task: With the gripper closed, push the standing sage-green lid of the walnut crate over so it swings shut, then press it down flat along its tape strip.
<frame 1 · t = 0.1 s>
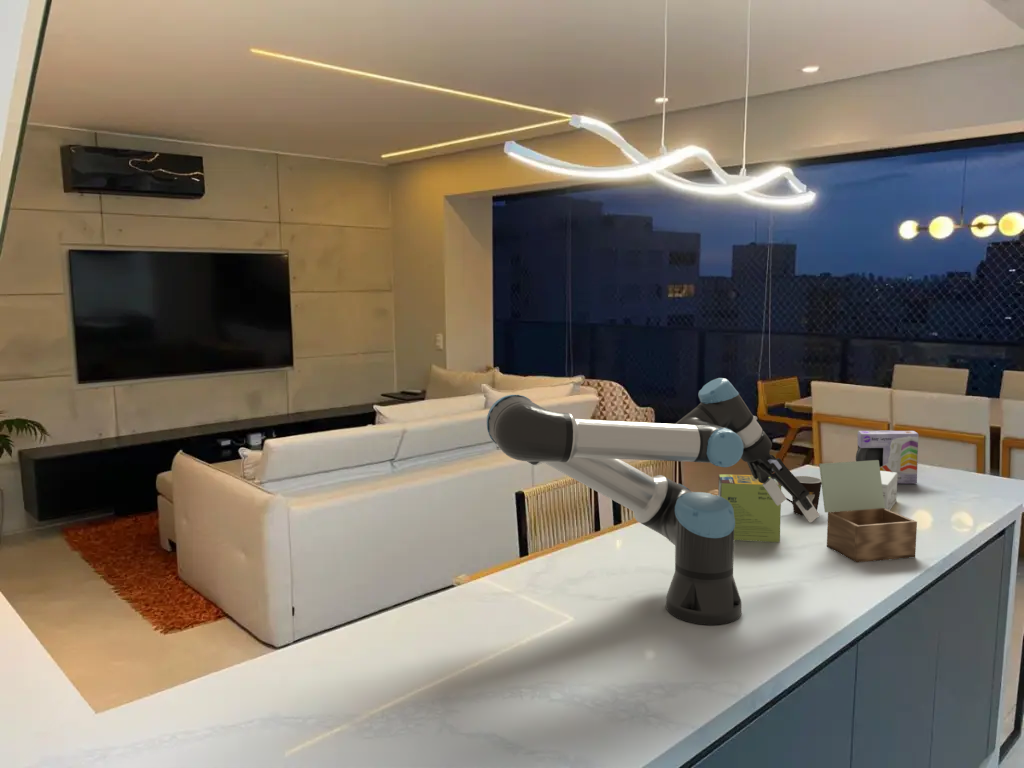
hand: (797, 510, 171), 15 cm above the counter, tool tilted 35°, fingers open, 13 cm apart
protein box: (747, 535, 201), on the counter
crate: (869, 551, 187), on the counter
lid: (851, 485, 193), point 15 cm above the counter, hinge at 105.0°
cake pan box: (884, 483, 253), on the counter
supplement box: (868, 505, 227), on the counter
coffee mug: (799, 512, 221), on the counter
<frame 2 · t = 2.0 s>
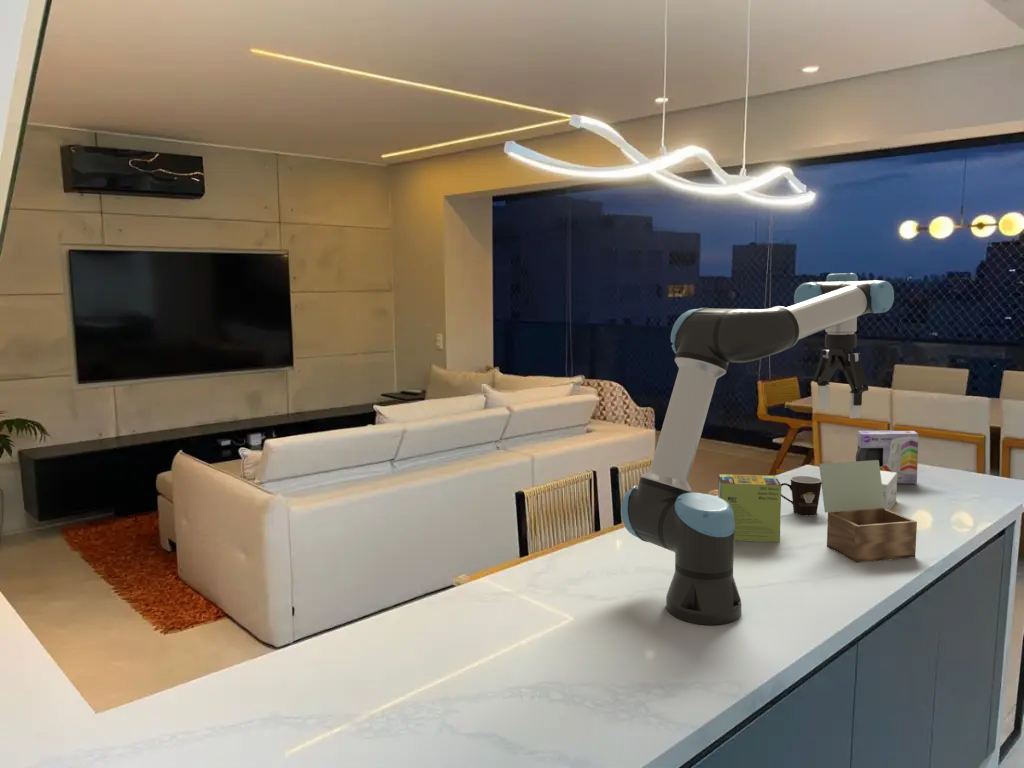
hand: (838, 413, 196), 33 cm above the counter, tool pointing down, fingers open, 13 cm apart
nothing on the counter moved.
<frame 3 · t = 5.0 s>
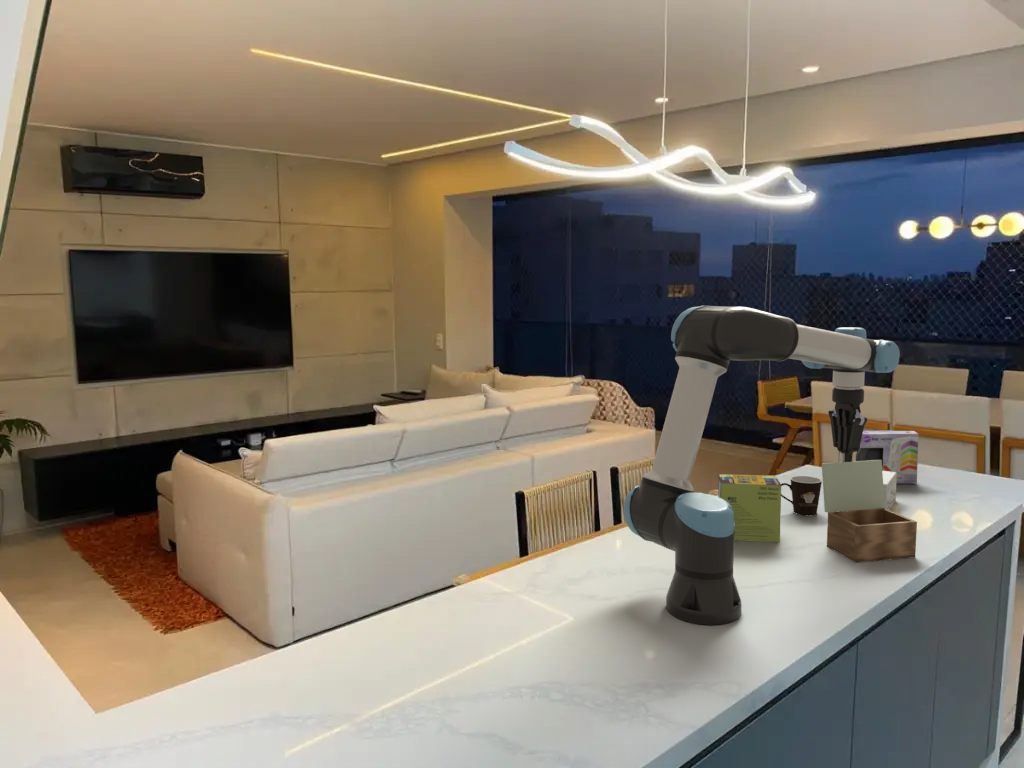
hand: (844, 476, 196), 17 cm above the counter, tool pointing down, fingers closed
lid: (853, 485, 192), point 15 cm above the counter, hinge at 99.7°, touching gripper
everything else where it was.
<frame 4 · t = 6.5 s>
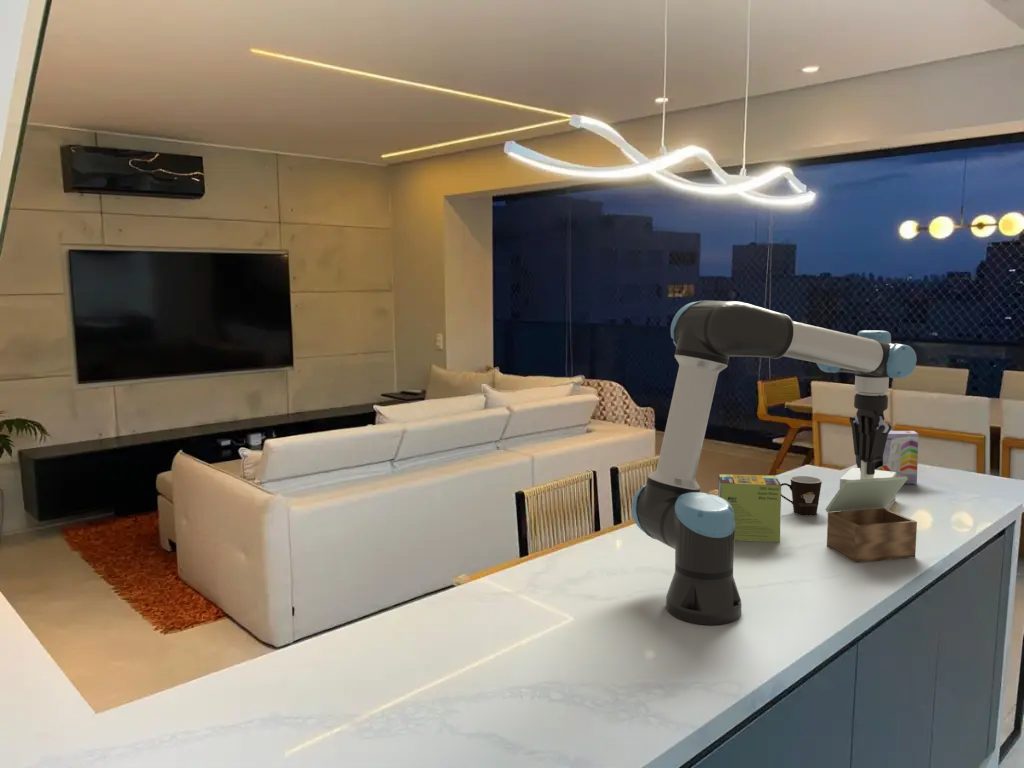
hand: (866, 486, 187), 16 cm above the counter, tool pointing down, fingers closed
lid: (865, 494, 187), point 14 cm above the counter, hinge at 50.4°, touching gripper
everything else where it was.
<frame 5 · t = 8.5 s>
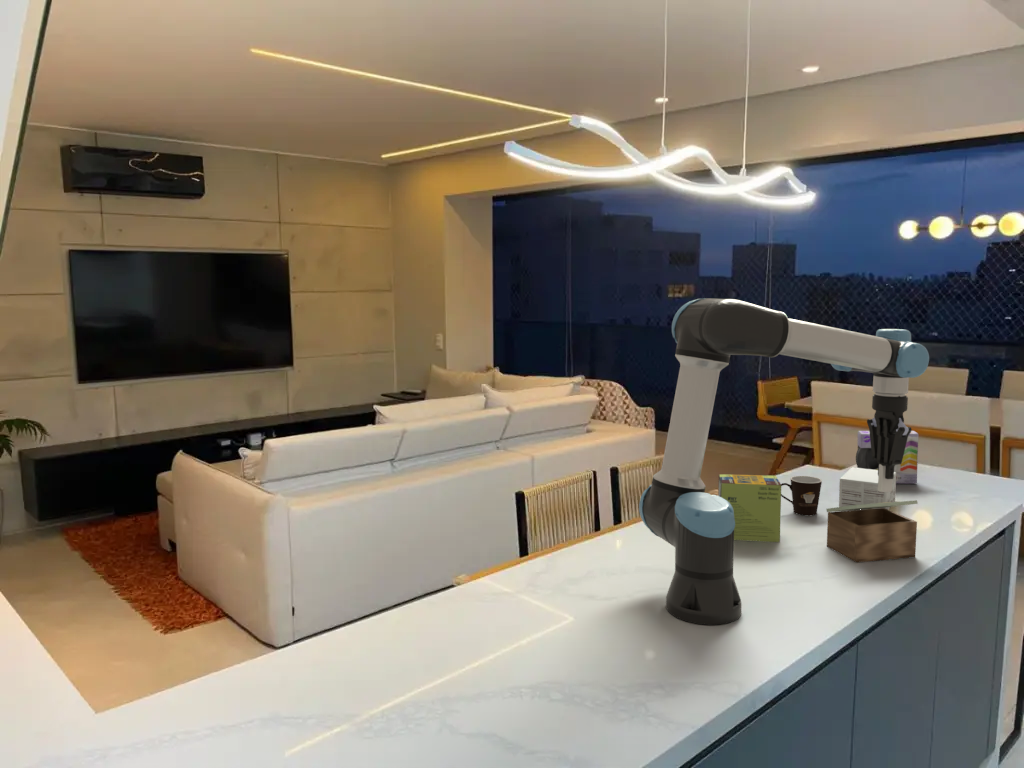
hand: (884, 491, 180), 17 cm above the counter, tool pointing down, fingers closed
lid: (870, 506, 186), point 12 cm above the counter, hinge at 20.3°
everything else where it was.
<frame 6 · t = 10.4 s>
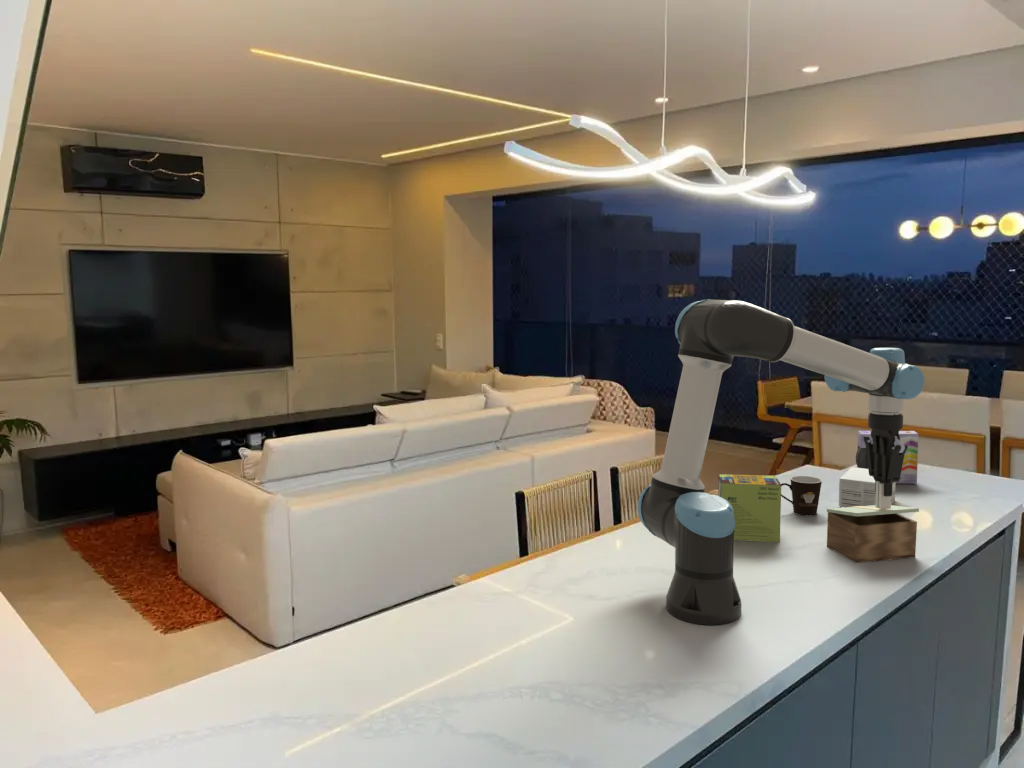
hand: (883, 507, 181), 12 cm above the counter, tool pointing down, fingers closed
lid: (871, 510, 185), point 11 cm above the counter, hinge at 11.3°, touching gripper
everything else where it was.
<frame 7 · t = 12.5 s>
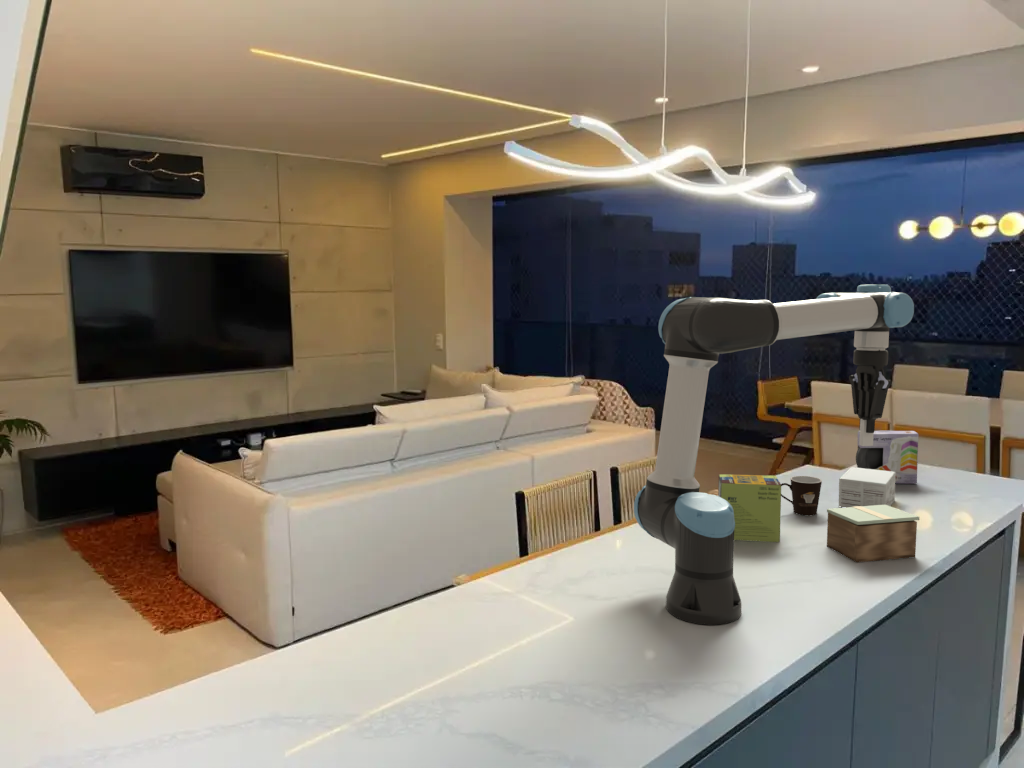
hand: (865, 445, 182), 28 cm above the counter, tool pointing down, fingers closed
lid: (871, 514, 185), point 10 cm above the counter, hinge at 2.0°
everything else where it was.
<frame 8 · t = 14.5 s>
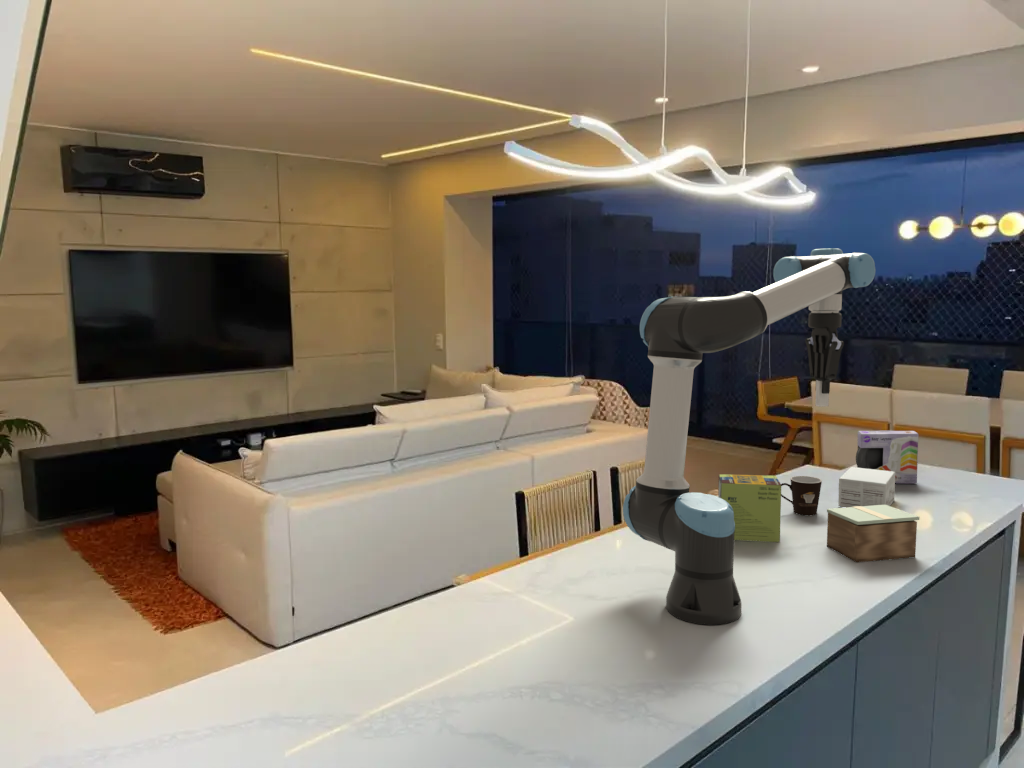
hand: (822, 405, 187), 36 cm above the counter, tool pointing down, fingers closed
at the end: lid at +2° (first picture: +105°); lid touching nothing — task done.
